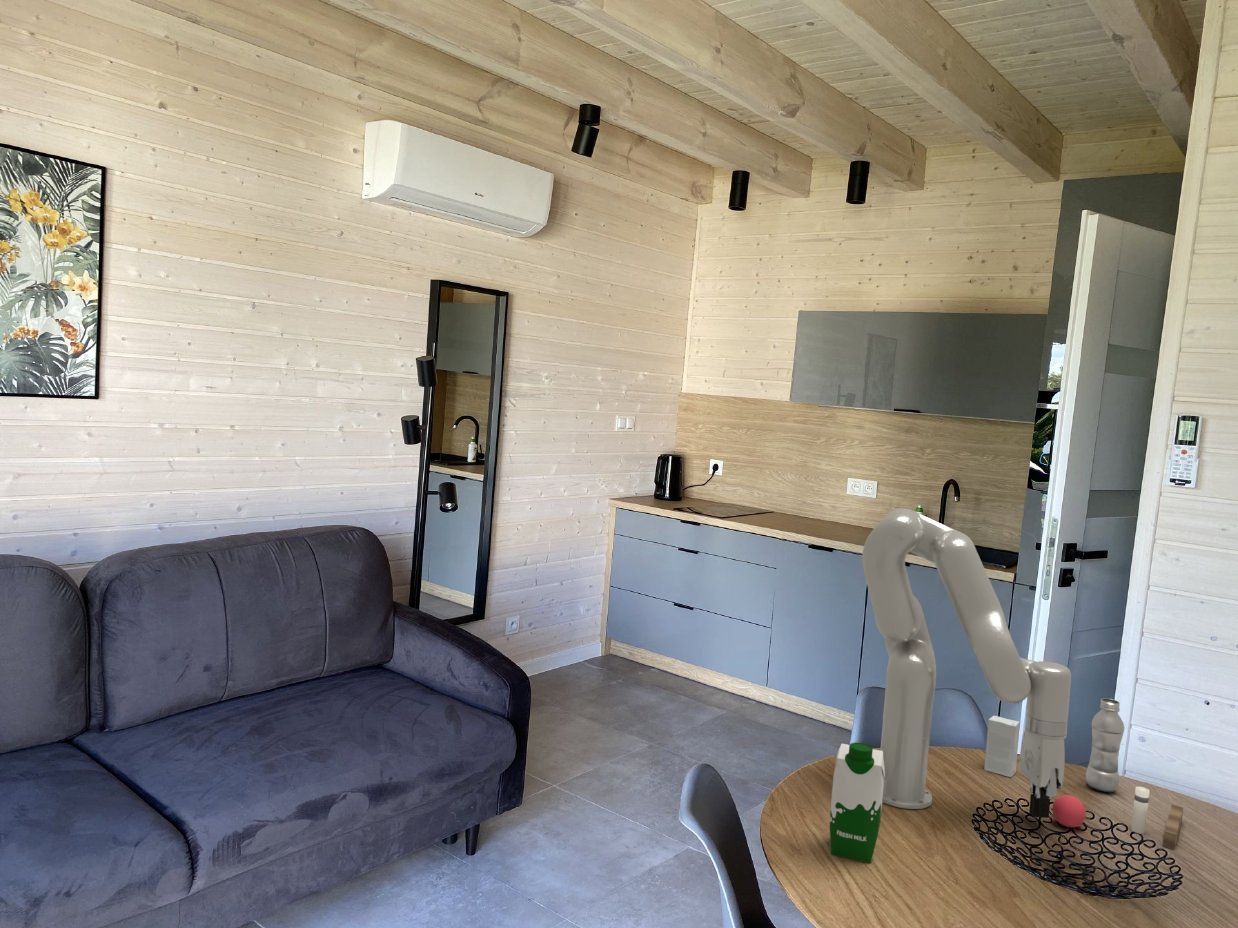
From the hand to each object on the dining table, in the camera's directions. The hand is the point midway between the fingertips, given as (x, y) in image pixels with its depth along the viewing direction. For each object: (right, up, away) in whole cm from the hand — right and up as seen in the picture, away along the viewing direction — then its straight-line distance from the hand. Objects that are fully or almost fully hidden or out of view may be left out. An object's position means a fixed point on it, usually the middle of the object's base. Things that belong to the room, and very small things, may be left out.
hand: (1038, 815), depth 177 cm
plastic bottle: (+23, -2, +20) cm, 31 cm away
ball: (+6, +1, 0) cm, 6 cm away
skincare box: (+3, -1, +26) cm, 26 cm away
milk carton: (-41, 0, -16) cm, 44 cm away
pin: (+20, -3, 0) cm, 20 cm away
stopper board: (+27, -4, 0) cm, 27 cm away
